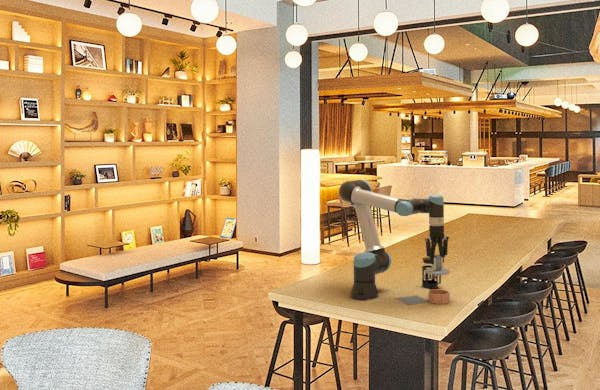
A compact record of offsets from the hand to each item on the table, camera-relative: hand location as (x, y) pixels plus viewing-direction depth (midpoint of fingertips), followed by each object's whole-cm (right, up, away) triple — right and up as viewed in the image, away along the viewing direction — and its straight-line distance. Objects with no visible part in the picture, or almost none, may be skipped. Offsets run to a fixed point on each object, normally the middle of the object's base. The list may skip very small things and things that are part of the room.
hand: (437, 269), depth 292 cm
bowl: (+1, -17, +2) cm, 18 cm away
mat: (-12, -17, +4) cm, 22 cm away
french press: (+4, -15, +32) cm, 35 cm away
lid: (0, -2, 0) cm, 1 cm away
